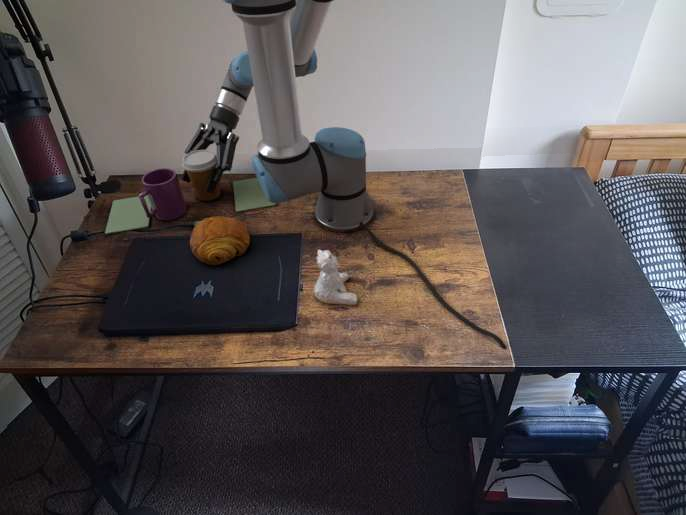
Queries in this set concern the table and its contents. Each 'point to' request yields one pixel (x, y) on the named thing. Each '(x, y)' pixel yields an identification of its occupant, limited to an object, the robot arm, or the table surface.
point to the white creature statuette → (332, 281)
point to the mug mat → (127, 215)
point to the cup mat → (249, 195)
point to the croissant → (219, 239)
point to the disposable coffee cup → (201, 172)
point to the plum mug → (163, 194)
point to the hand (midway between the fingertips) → (196, 186)
